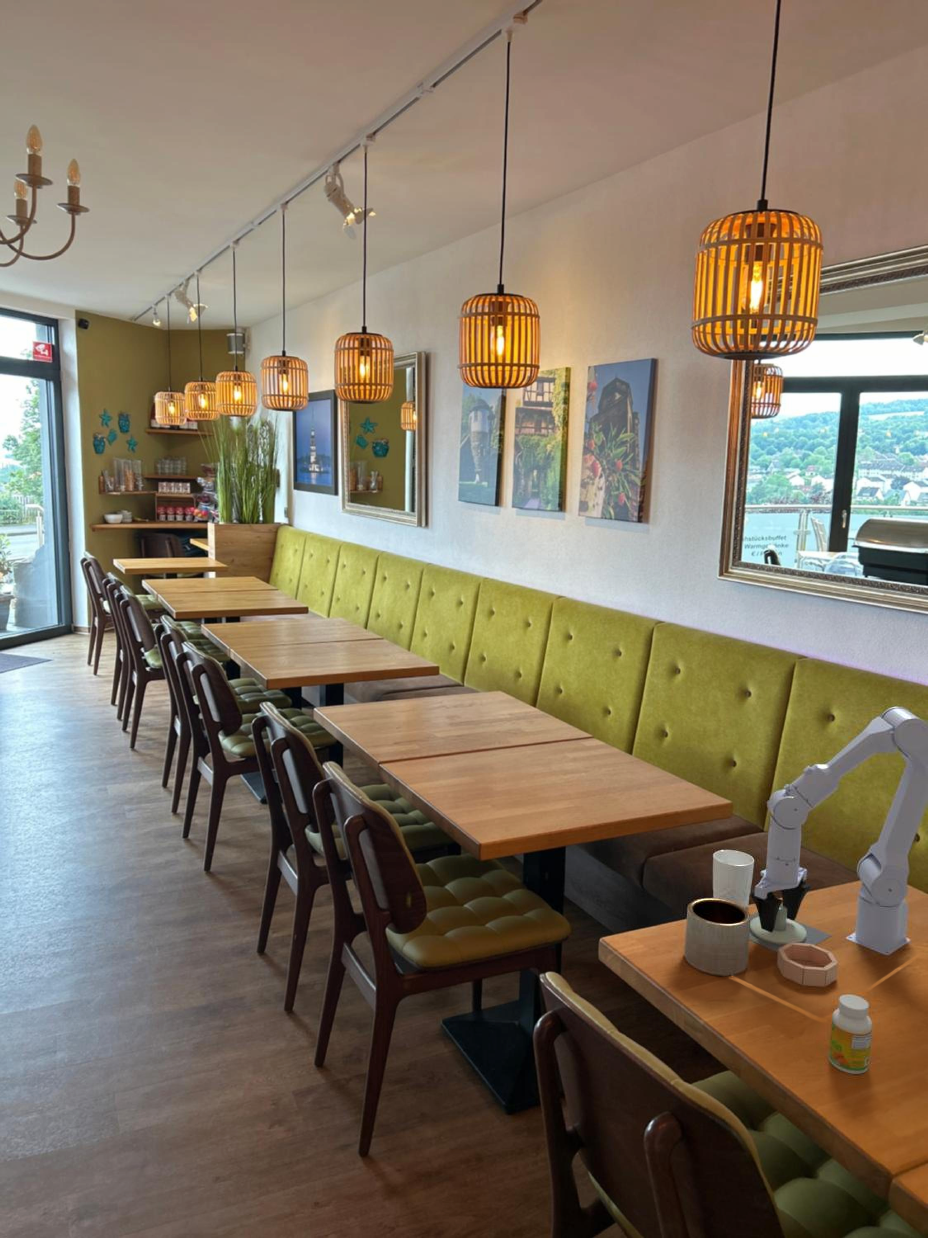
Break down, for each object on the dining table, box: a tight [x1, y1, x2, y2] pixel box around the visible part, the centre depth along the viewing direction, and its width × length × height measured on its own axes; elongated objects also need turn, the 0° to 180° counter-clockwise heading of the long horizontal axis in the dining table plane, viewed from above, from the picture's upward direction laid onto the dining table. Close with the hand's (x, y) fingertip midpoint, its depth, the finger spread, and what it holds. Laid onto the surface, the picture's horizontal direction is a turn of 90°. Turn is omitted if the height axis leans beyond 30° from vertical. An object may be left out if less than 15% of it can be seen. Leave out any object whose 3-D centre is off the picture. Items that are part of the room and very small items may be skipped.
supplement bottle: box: [828, 993, 873, 1075], centre depth 131 cm, size 5×5×10 cm
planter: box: [684, 897, 751, 977], centre depth 160 cm, size 11×11×10 cm
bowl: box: [776, 942, 839, 987], centre depth 156 cm, size 9×9×4 cm
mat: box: [749, 911, 833, 954], centre depth 170 cm, size 14×14×1 cm
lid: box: [750, 904, 806, 945], centre depth 170 cm, size 10×10×5 cm
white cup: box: [712, 849, 755, 909], centre depth 182 cm, size 8×8×10 cm
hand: (778, 924), depth 170 cm, fingers open, 7 cm apart
